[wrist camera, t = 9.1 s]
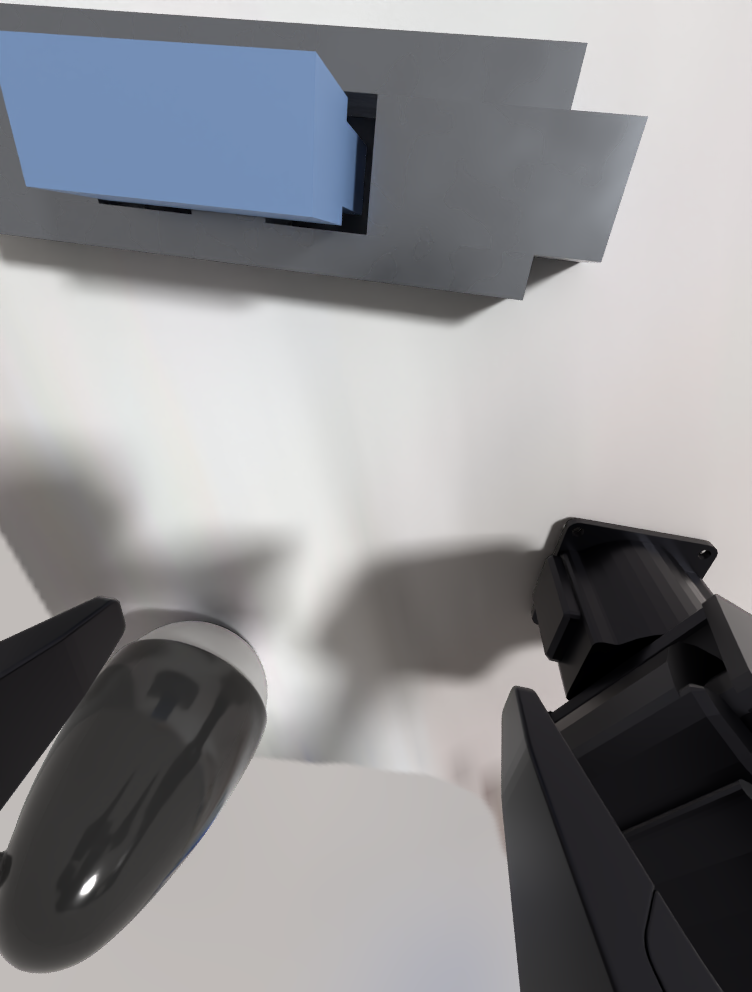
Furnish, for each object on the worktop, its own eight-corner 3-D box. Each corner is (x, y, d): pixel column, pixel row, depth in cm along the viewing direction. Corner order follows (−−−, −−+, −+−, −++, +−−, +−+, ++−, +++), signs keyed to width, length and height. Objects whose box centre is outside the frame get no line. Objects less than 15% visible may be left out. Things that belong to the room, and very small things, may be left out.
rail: (634, 84, 13) (670, 48, 11) (569, 302, 16) (585, 308, 14) (-67, 30, 15) (-155, -8, 13) (-9, 229, 18) (-72, 224, 16)
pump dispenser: (150, 570, 26) (-153, 874, 13) (305, 633, 27) (157, 989, 14) (139, 666, 32) (-87, 953, 19) (269, 718, 32) (136, 1036, 19)
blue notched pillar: (368, 126, 14) (315, 51, 9) (360, 231, 16) (312, 217, 11) (148, 108, 15) (-15, 29, 10) (161, 209, 17) (26, 186, 11)
